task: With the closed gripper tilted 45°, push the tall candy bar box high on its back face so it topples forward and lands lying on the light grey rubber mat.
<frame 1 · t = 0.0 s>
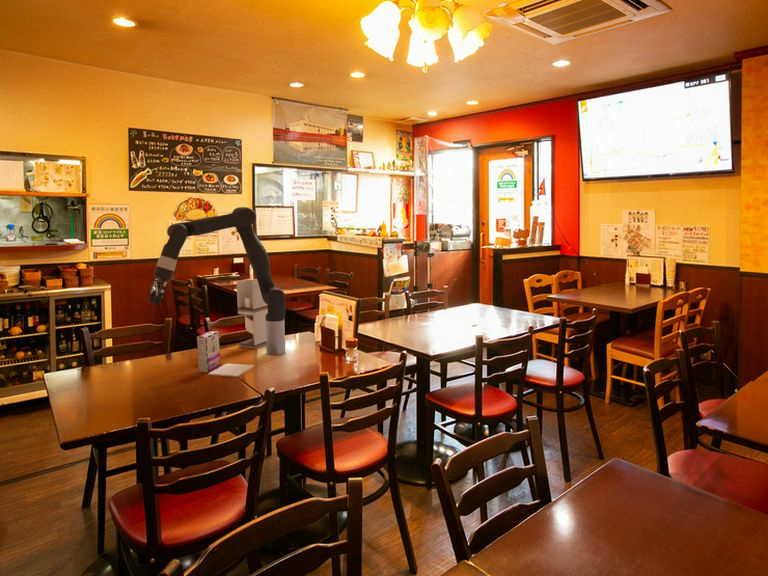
hand: (153, 303, 230), 31 cm above the table, fingers open, 8 cm apart
display case: (254, 345, 285), on the table
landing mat: (231, 370, 239), on the table
candy bar box: (209, 369, 241), on the table
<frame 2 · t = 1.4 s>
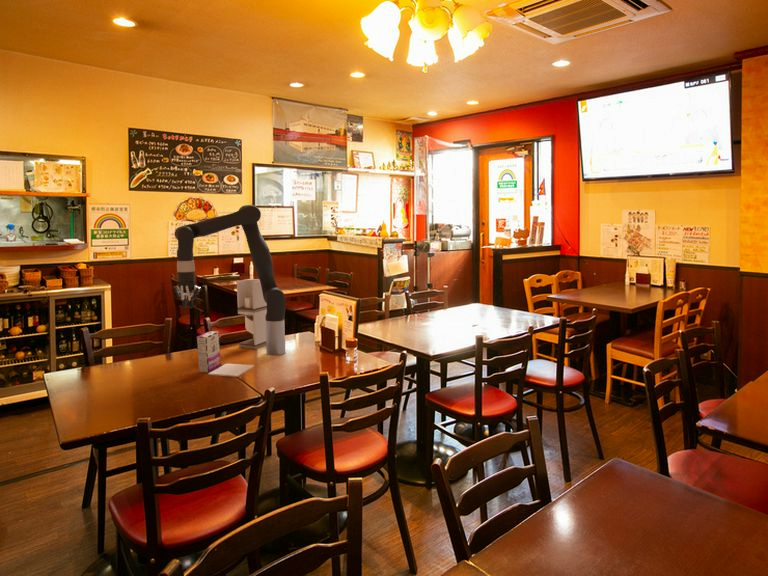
hand: (188, 307, 244), 27 cm above the table, fingers closed
nothing on the table moved.
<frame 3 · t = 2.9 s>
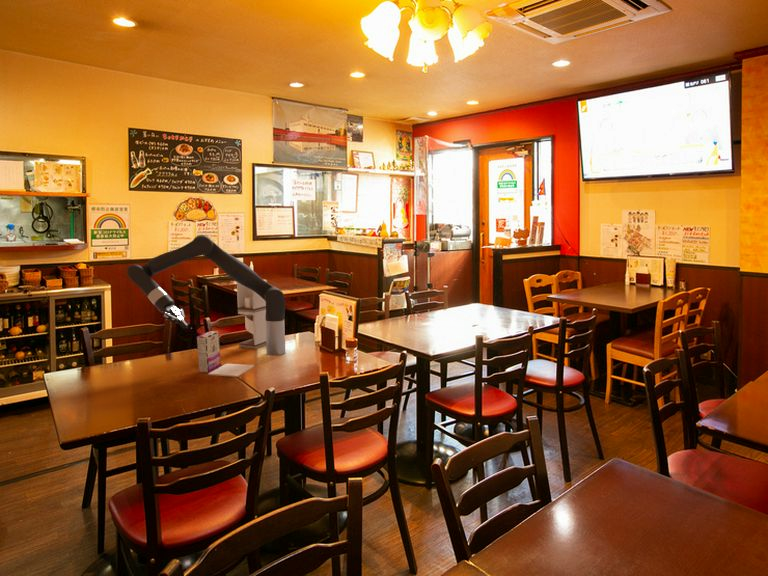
hand: (186, 327, 241), 19 cm above the table, fingers closed
nothing on the table moved.
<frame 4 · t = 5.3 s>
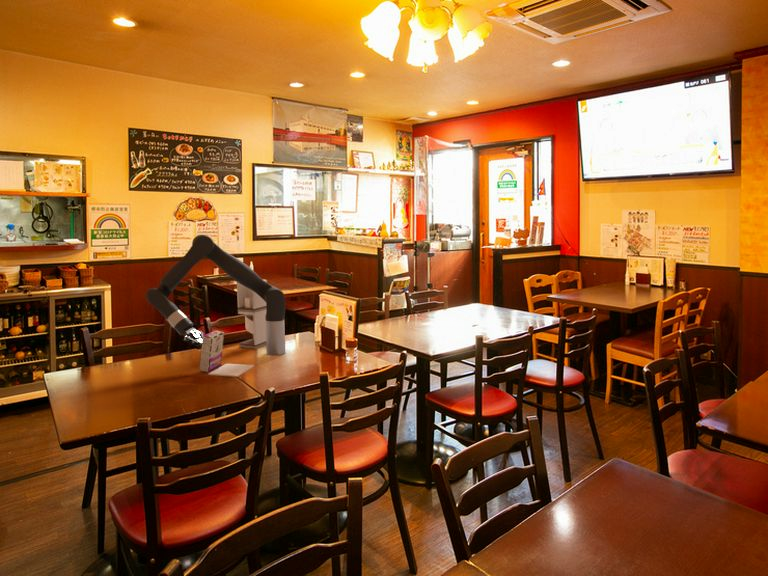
hand: (206, 350, 240), 9 cm above the table, fingers closed
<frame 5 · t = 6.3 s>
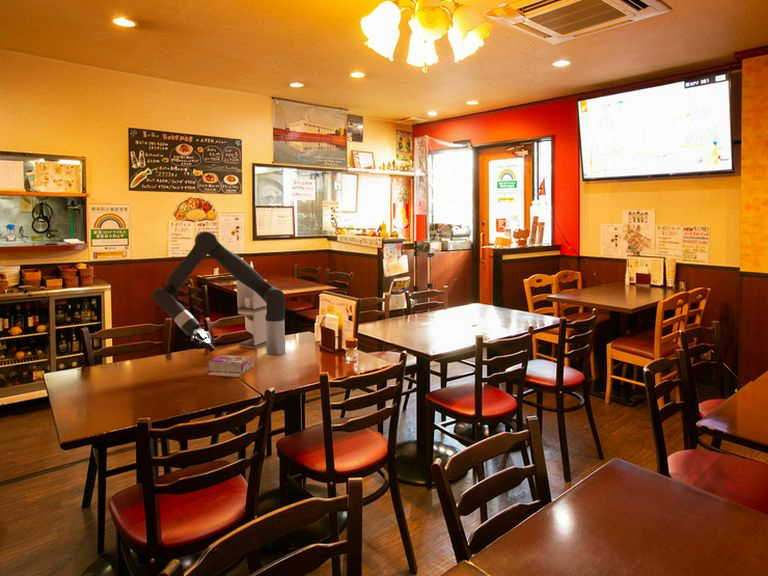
hand: (213, 350, 239), 9 cm above the table, fingers closed
candy bar box: (214, 362, 240), point 3 cm above the table, touching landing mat
everything else where it was.
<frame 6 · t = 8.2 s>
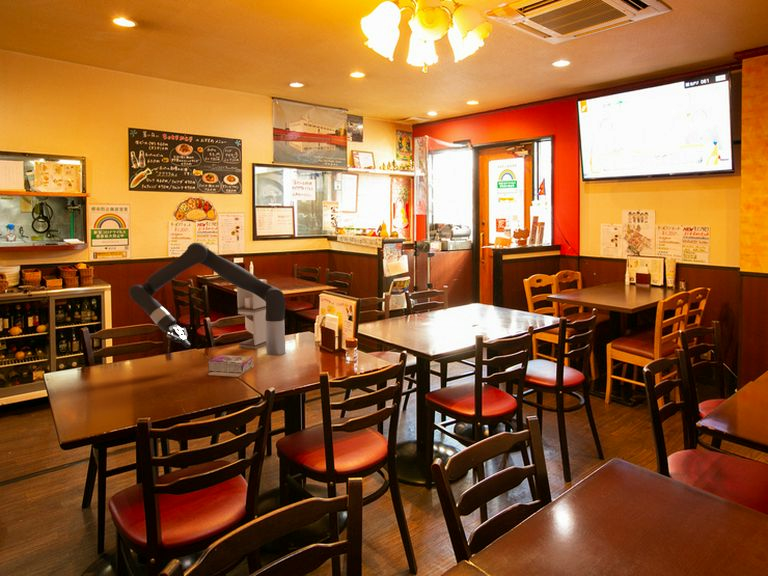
hand: (188, 346, 242), 10 cm above the table, fingers closed
nothing on the table moved.
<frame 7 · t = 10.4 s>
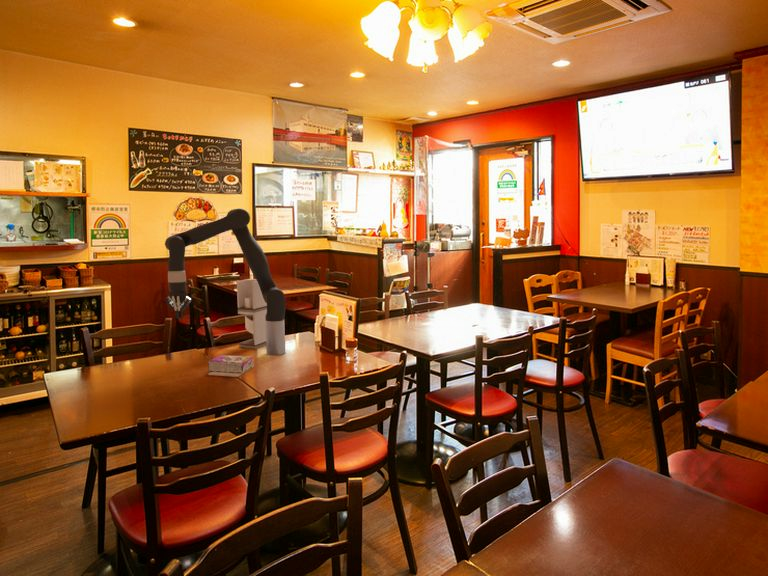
hand: (179, 318, 241), 23 cm above the table, fingers closed
nothing on the table moved.
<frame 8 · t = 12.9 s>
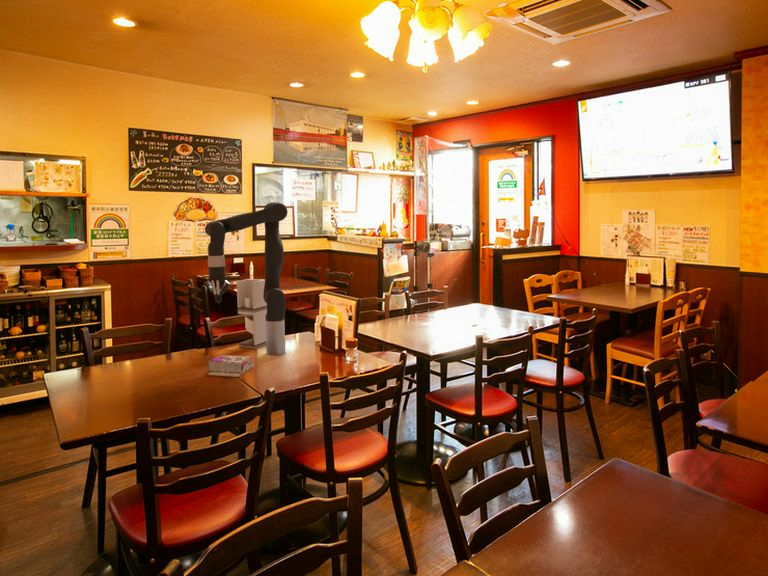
hand: (218, 302, 247), 29 cm above the table, fingers closed
nothing on the table moved.
at the end: candy bar box tilted 91°; candy bar box touching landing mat; candy bar box inside the target area (1.7 cm from its centre), point 3.1 cm above the table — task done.
